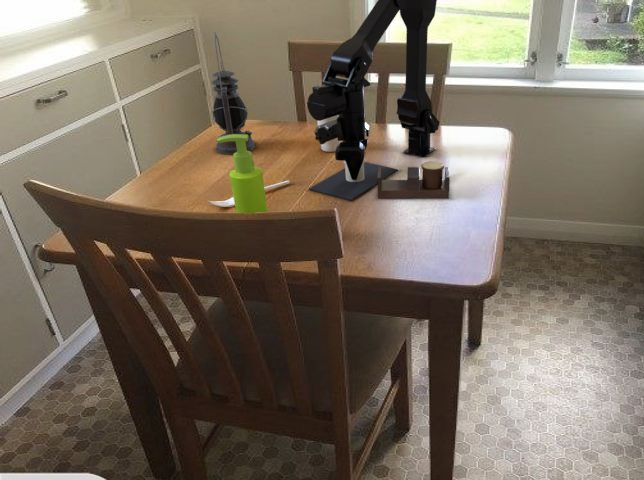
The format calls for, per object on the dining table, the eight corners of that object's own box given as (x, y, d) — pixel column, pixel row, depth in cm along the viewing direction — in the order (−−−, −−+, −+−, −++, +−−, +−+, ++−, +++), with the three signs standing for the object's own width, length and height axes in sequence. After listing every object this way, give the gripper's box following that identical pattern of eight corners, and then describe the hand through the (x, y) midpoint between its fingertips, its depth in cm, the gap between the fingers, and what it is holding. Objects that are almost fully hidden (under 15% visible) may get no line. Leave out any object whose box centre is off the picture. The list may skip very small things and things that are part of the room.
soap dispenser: (237, 228, 107) (219, 131, 97) (272, 226, 108) (258, 129, 97) (233, 242, 102) (213, 142, 92) (269, 240, 103) (254, 140, 92)
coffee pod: (352, 173, 130) (351, 154, 127) (369, 177, 127) (369, 158, 125) (340, 180, 126) (339, 161, 124) (357, 184, 124) (356, 165, 121)
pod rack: (379, 187, 123) (378, 167, 120) (447, 187, 122) (448, 167, 120) (377, 198, 118) (377, 177, 115) (448, 198, 117) (449, 177, 114)
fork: (293, 185, 125) (293, 178, 124) (214, 212, 114) (213, 204, 113) (286, 181, 127) (285, 174, 126) (208, 207, 116) (206, 199, 115)
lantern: (254, 154, 143) (235, 35, 128) (213, 157, 142) (190, 37, 127) (256, 139, 154) (239, 27, 138) (218, 141, 153) (197, 29, 137)
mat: (358, 162, 137) (358, 160, 137) (398, 170, 131) (398, 169, 131) (308, 190, 123) (308, 188, 122) (351, 201, 117) (351, 199, 117)
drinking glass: (339, 154, 142) (335, 97, 134) (315, 153, 143) (310, 96, 135) (346, 145, 148) (342, 90, 140) (322, 144, 149) (318, 89, 141)
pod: (427, 178, 122) (428, 159, 119) (447, 183, 119) (448, 163, 117) (416, 186, 118) (417, 166, 116) (436, 191, 116) (437, 170, 113)
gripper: (321, 98, 127) (326, 161, 135) (308, 123, 111) (315, 191, 119) (368, 98, 126) (370, 160, 134) (362, 122, 110) (365, 191, 118)
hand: (355, 175), depth 126 cm, fingers closed on coffee pod, 4 cm apart
